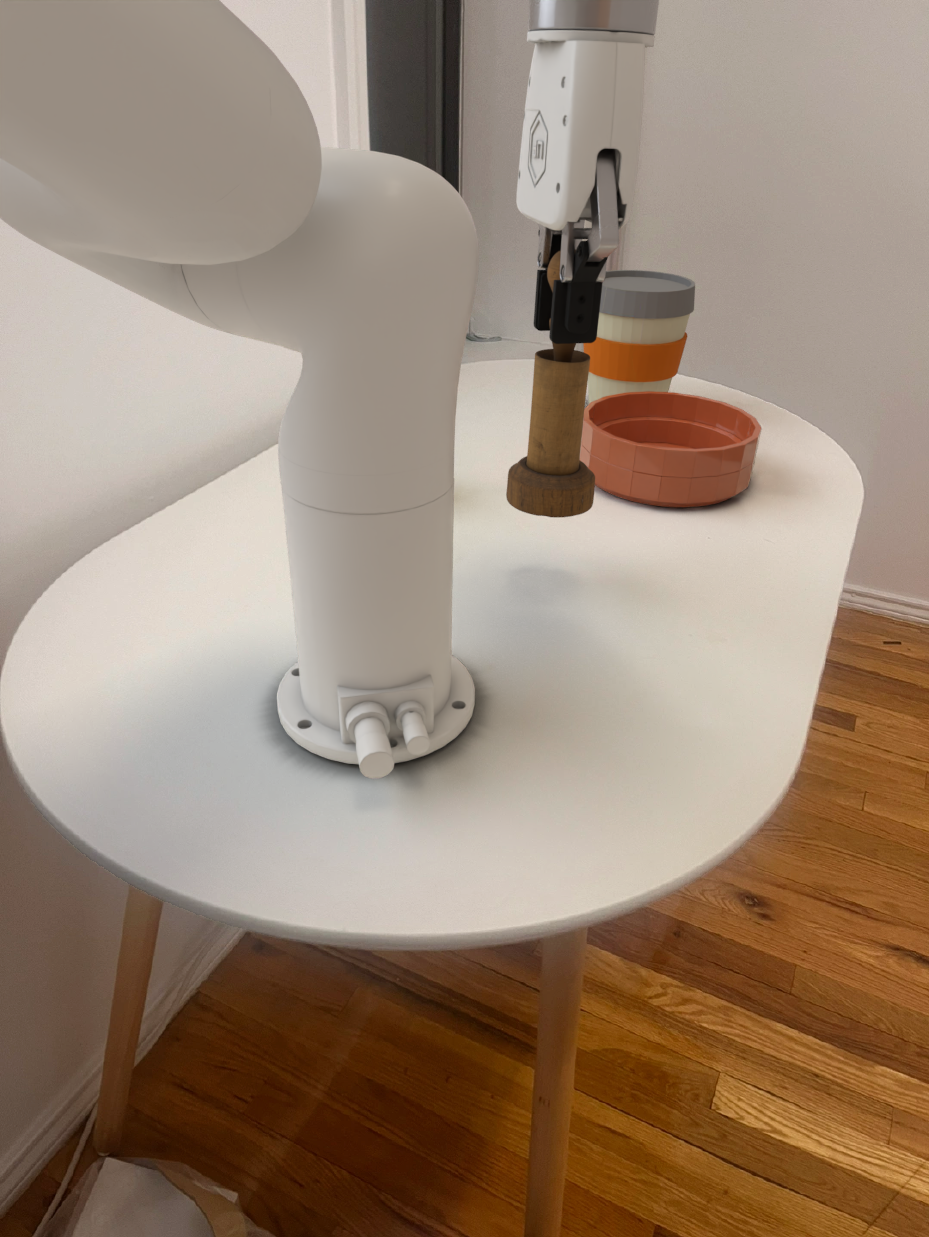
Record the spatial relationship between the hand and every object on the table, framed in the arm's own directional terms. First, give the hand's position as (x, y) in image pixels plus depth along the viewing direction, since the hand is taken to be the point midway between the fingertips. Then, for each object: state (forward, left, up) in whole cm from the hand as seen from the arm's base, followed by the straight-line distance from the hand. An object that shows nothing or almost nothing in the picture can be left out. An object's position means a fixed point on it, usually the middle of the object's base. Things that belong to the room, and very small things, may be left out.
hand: (564, 333), depth 61 cm
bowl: (+18, -18, -19) cm, 32 cm away
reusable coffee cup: (+38, -22, -20) cm, 49 cm away
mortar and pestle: (0, 0, -13) cm, 13 cm away
